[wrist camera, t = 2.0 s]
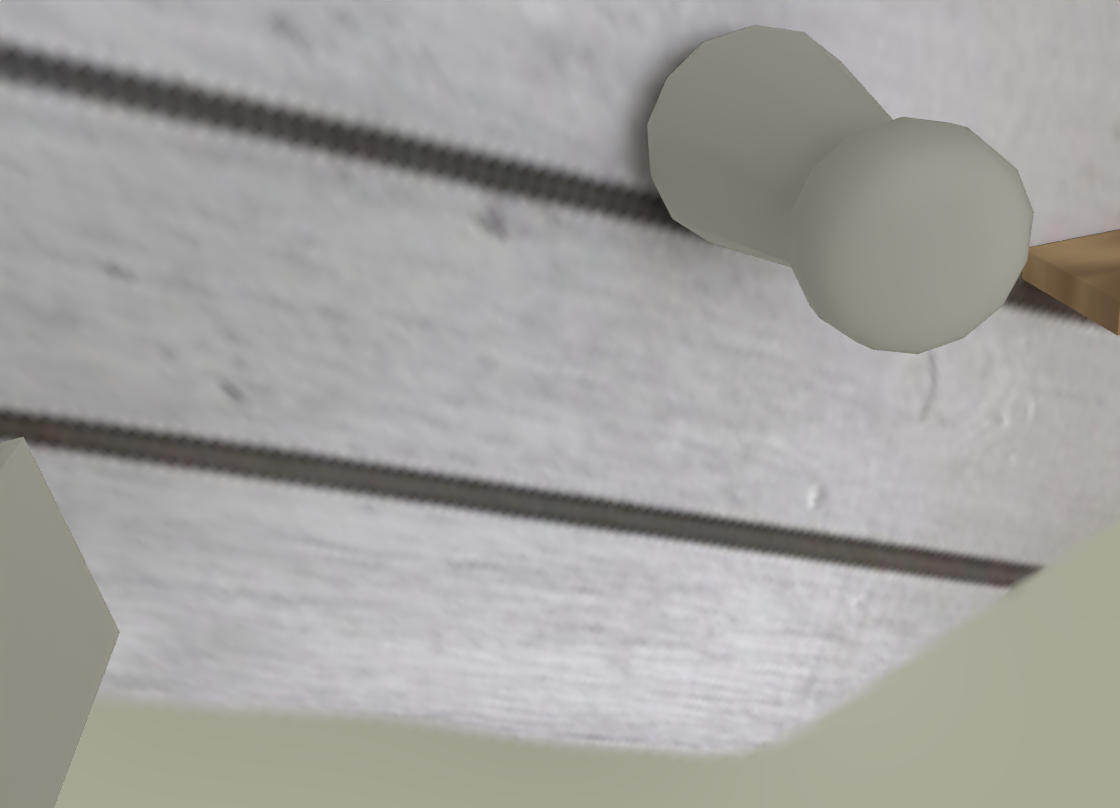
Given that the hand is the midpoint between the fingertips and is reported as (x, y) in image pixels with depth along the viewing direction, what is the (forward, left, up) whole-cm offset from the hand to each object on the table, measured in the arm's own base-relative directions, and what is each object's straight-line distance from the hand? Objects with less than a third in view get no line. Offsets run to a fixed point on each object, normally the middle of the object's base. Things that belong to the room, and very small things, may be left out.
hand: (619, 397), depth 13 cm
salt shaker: (+7, -1, -19) cm, 20 cm away
